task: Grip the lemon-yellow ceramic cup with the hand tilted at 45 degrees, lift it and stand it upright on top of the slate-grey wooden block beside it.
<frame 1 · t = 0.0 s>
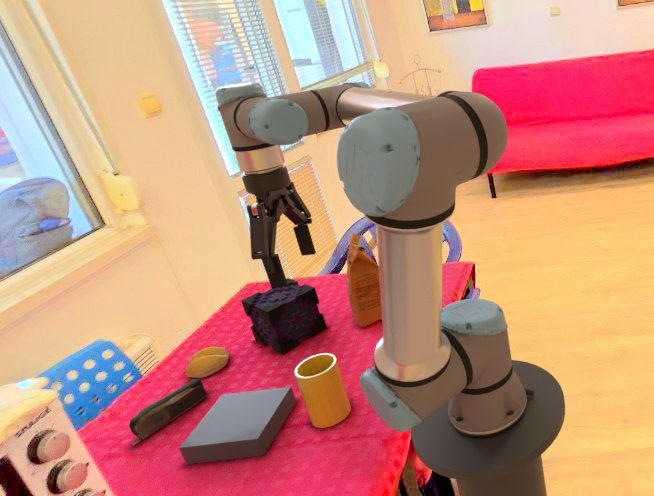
hand: (295, 269, 105), 27 cm above the table, tool pointing down, fingers open, 13 cm apart
energy cube: (292, 335, 133), on the table
coffee package: (374, 314, 139), on the table
bread roll: (209, 367, 123), on the table
dark pencil case: (171, 420, 107), on the table
grey block: (245, 431, 102), on the table
yellow cup: (331, 413, 105), on the table
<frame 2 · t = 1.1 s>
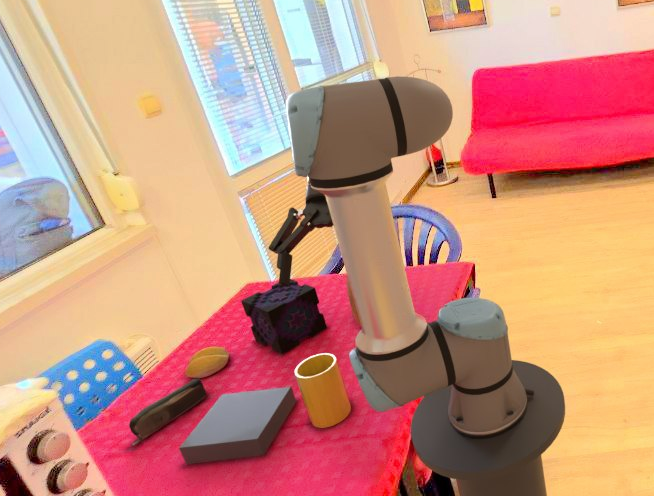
hand: (318, 280, 105), 25 cm above the table, tool tilted 45°, fingers open, 13 cm apart
nothing on the table moved.
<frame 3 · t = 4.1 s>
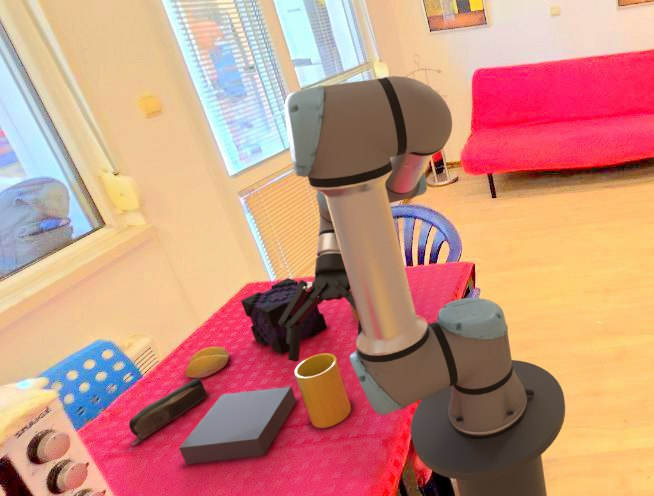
hand: (327, 357, 105), 10 cm above the table, tool tilted 45°, fingers open, 13 cm apart
nothing on the table moved.
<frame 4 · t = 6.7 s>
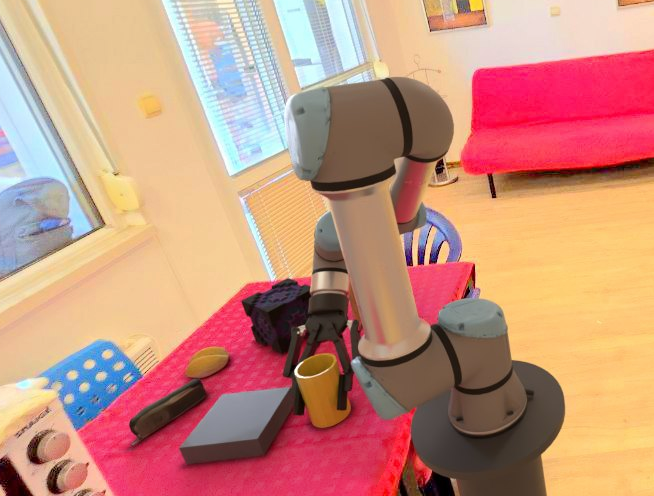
hand: (320, 412, 100), 4 cm above the table, tool tilted 45°, fingers closed on yellow cup, 7 cm apart
yellow cup: (331, 413, 105), on the table, touching gripper
everything else where it was.
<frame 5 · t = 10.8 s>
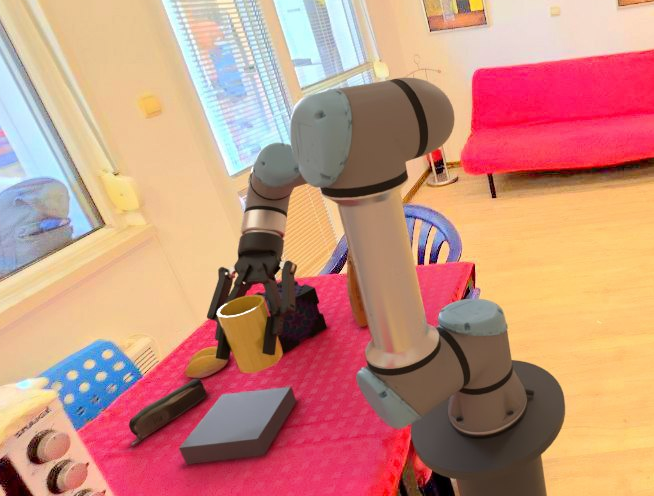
hand: (245, 356, 93), 19 cm above the table, tool tilted 45°, fingers closed on yellow cup, 7 cm apart
yellow cup: (261, 360, 98), point 15 cm above the table, touching gripper
everything else where it was.
when the fingers open (7 cm above the table, at t = 15.3 s): yellow cup stays where it is, resting on grey block.
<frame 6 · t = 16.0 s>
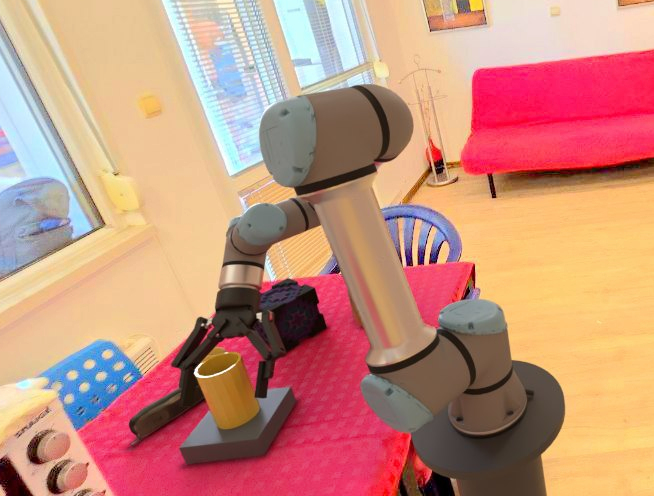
hand: (223, 402, 96), 9 cm above the table, tool tilted 45°, fingers open, 13 cm apart
yellow cup: (238, 414, 101), point 4 cm above the table, touching grey block
everything else where it was.
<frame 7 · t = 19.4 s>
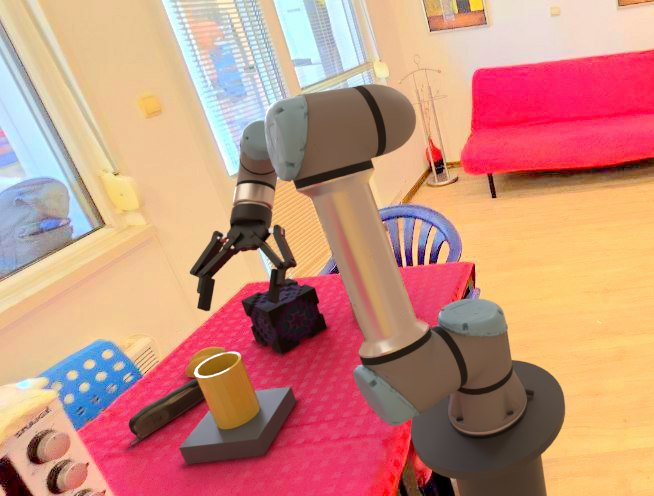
hand: (238, 305, 104), 22 cm above the table, tool tilted 45°, fingers open, 13 cm apart
nothing on the table moved.
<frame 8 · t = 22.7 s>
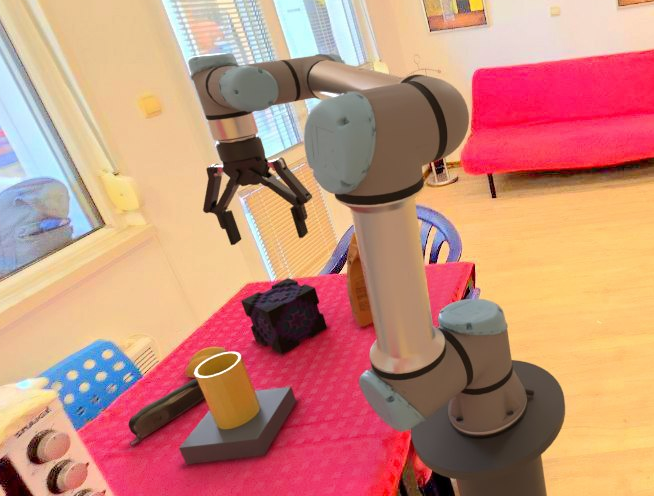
hand: (270, 238, 107), 33 cm above the table, tool pointing down, fingers open, 13 cm apart
nothing on the table moved.
at the end: yellow cup inside the target area on the grey block (0.1 cm from its centre), point 4.0 cm above the grey block's base; yellow cup tilted 0°; the gripper is holding nothing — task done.
